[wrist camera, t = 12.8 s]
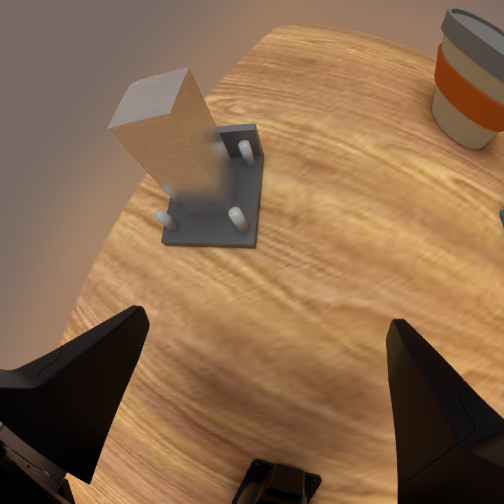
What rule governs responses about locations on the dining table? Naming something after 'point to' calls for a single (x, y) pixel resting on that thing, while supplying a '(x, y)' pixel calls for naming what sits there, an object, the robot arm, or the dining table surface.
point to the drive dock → (244, 205)
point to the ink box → (502, 215)
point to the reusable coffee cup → (469, 79)
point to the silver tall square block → (177, 141)
